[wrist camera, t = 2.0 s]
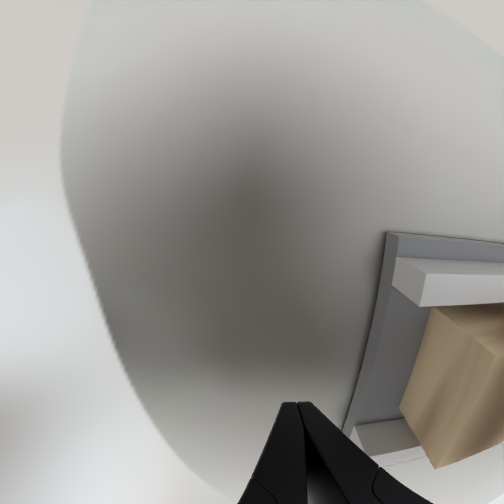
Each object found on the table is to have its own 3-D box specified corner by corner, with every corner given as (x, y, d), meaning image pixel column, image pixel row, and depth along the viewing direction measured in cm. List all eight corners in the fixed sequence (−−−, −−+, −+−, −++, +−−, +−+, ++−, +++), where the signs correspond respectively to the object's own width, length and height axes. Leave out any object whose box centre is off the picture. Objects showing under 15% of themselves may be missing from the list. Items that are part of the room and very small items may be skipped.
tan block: (507, 301, 10) (564, 335, 6) (475, 390, 11) (514, 434, 7) (431, 305, 10) (495, 355, 6) (398, 407, 11) (434, 469, 7)
